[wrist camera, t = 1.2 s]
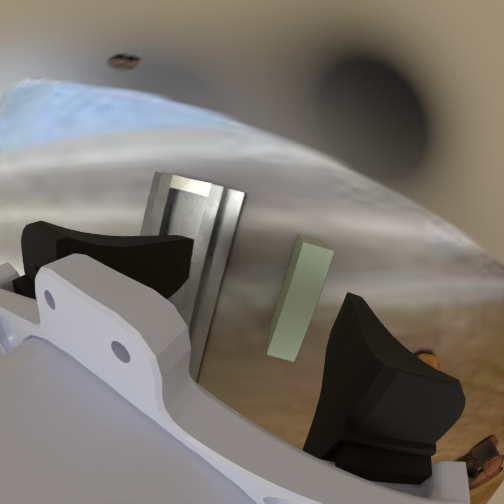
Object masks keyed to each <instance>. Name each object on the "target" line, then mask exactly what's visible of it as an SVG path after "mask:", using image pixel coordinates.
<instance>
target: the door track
mask: <svg viewBox="0 0 504 504" xmlns="http://www.w3.org/2000/svg"><path fill="white" fill-rule="evenodd" d="M245 196H246V193H243V192H239V191H235V190H232V189H228V188H225V187H222V186H218V185H214V184H210V183H206V182H202V181H198V180H193V179H189V178H185V177H181V176H176V175H172V174H167V173H163V172H162V173H160V172H156V171H155V175H154V178H153V182H152V186H151V190H150V194H149V198H148V202H147V207H146V211H145V216H144V220H143V225H142V230H141V235H140V236H154V235H181V236H185V237H188V238H191V239H194V245H193V252H192V259H191V266H190V273H189V279H188V280H187V281H186V282H185V283H184V285H183V286H182V287H181V288H180V289H179V290H178V291H177V292H176V293H175V294H173V295H172V296H171V297H170V298H168V299H167V300H168V301H169V302H171V303H172V304H173V305H174V306H175V308H176V309H177V311H178V313H179V314H180V316H181V317H182V319H183V320H184V322H185V323H186V325H187V327H188V332H189V338H190V344H191V353H190V361H189V374H190V376H191V378H192V379H193V380H194V381H195V382H196V383H197V382H198V378H199V374H200V369H201V365H202V361H203V357H204V353H205V349H206V345H207V341H208V337H209V333H210V329H211V325H212V321H213V317H214V313H215V309H216V305H217V301H218V297H219V293H220V289H221V285H222V282H223V278H224V274H225V270H226V266H227V263H228V259H229V255H230V251H231V247H232V244H233V240H234V236H235V233H236V229H237V225H238V222H239V218H240V214H241V211H242V207H243V204H244V200H245Z"/></svg>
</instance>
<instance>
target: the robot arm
mask: <svg viewBox="0 0 504 504" xmlns="http://www.w3.org/2000/svg"><path fill="white" fill-rule="evenodd" d="M193 245H194V239H191V238H188V237H185V236H181V235H154V236H107V235H98V234H91V233H84V232H79V231H75V230H70V229H67V228H63V227H60V226H57V225H53V224H50V223H47V222H45V221H38V222H34V223H31V224H28V225H26V226H25V228H24V230H23V233H22V239H21V247H22V256H23V264H24V271H25V274H26V275H23V276H21V277H20V276H19V274H18V272H17V271H16V270H15V269H14V268H13V267H12V266H11V265H10V264H9V263H8V262H7V263H5V264H2V265H0V504H470V495H469V485H468V476H467V469H466V462H454V461H441V462H437V463H434V464H431V456H433V455H434V454H435V453H436V442H437V441H438V440H439V439H440V438H441V437H442V436H443V435H444V434H445V433H446V432H447V431H448V430H449V429H450V428H451V427H452V426H453V425H454V424H455V422H456V421H457V420H458V419H459V417H460V416H461V414H462V412H463V410H464V408H465V396H464V393H463V390H462V387H461V384H460V381H459V380H458V379H456V378H454V377H451V376H449V375H447V374H445V373H443V372H441V371H439V370H437V369H435V368H434V367H432V366H430V365H429V364H427V363H425V362H424V361H422V360H421V359H420V358H418V357H417V356H415V355H414V354H413V353H412V352H410V351H409V350H408V349H406V348H405V347H404V346H403V345H402V344H401V343H400V342H399V341H398V340H397V339H396V338H394V337H393V336H392V335H391V333H390V332H389V331H388V330H387V329H386V328H385V327H384V325H383V324H382V323H381V322H380V321H379V319H378V318H377V317H376V315H375V314H374V313H373V311H372V310H371V309H370V307H369V306H368V304H367V303H366V302H365V301H364V299H363V298H362V297H361V296H358V295H355V294H352V293H349V292H347V295H346V297H345V300H344V302H343V304H342V307H341V309H340V311H339V314H338V316H337V318H336V321H335V323H334V325H333V327H332V330H331V333H330V336H329V340H328V344H327V348H326V356H325V365H324V373H323V381H322V388H321V394H320V398H319V402H318V405H317V409H316V412H315V415H314V418H313V422H312V425H311V428H310V431H309V434H308V436H307V439H306V442H305V445H304V447H303V450H301V449H299V448H297V447H295V446H293V445H291V444H289V443H288V442H286V441H284V440H282V439H281V438H279V437H277V436H275V435H274V434H272V433H270V432H269V431H267V430H265V429H264V428H262V427H260V426H259V425H257V424H255V423H254V422H252V421H251V420H249V419H248V418H246V417H244V416H243V415H241V414H240V413H238V412H237V411H235V410H234V409H232V408H231V407H229V406H228V405H226V404H225V403H224V402H222V401H221V400H219V399H218V398H216V397H215V396H214V395H212V394H211V393H210V392H208V391H207V390H205V389H204V388H203V387H201V386H200V385H199V384H197V383H196V382H195V381H194V380H193V379H192V378H191V376H190V374H189V361H190V353H191V344H190V338H189V332H188V327H187V325H186V323H185V322H184V320H183V319H182V317H181V316H180V314H179V313H178V311H177V309H176V308H175V306H174V305H173V304H172V303H171V302H169V301H168V300H167V299H168V298H170V297H171V296H172V295H173V294H175V293H176V292H177V291H178V290H179V289H180V288H181V287H182V286H183V285H184V283H185V282H186V281H187V280H188V279H189V273H190V266H191V259H192V252H193Z"/></svg>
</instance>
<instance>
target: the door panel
mask: <svg viewBox="0 0 504 504" xmlns="http://www.w3.org/2000/svg"><path fill="white" fill-rule="evenodd" d="M333 254H334V251H333V250H332V249H331V248H330V247H328V246H327V245H326V244H325V243H323V242H322V241H320V240H316V239H313V238H310V237H307V236H303V235H300V234H298V237H297V241H296V244H295V247H294V251H293V254H292V257H291V261H290V264H289V267H288V270H287V273H286V277H285V280H284V283H283V286H282V289H281V292H280V296H279V299H278V302H277V305H276V308H275V311H274V314H273V317H272V320H271V324H270V332H269V340H268V347H267V354H266V355H270V356H273V357H277V358H281V359H285V360H289V361H293V362H294V361H295V359H296V356H297V354H298V351H299V349H300V346H301V344H302V341H303V339H304V336H305V334H306V331H307V328H308V326H309V323H310V320H311V318H312V315H313V312H314V310H315V307H316V304H317V301H318V298H319V296H320V293H321V290H322V287H323V284H324V281H325V278H326V275H327V272H328V269H329V266H330V263H331V260H332V257H333Z"/></svg>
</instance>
